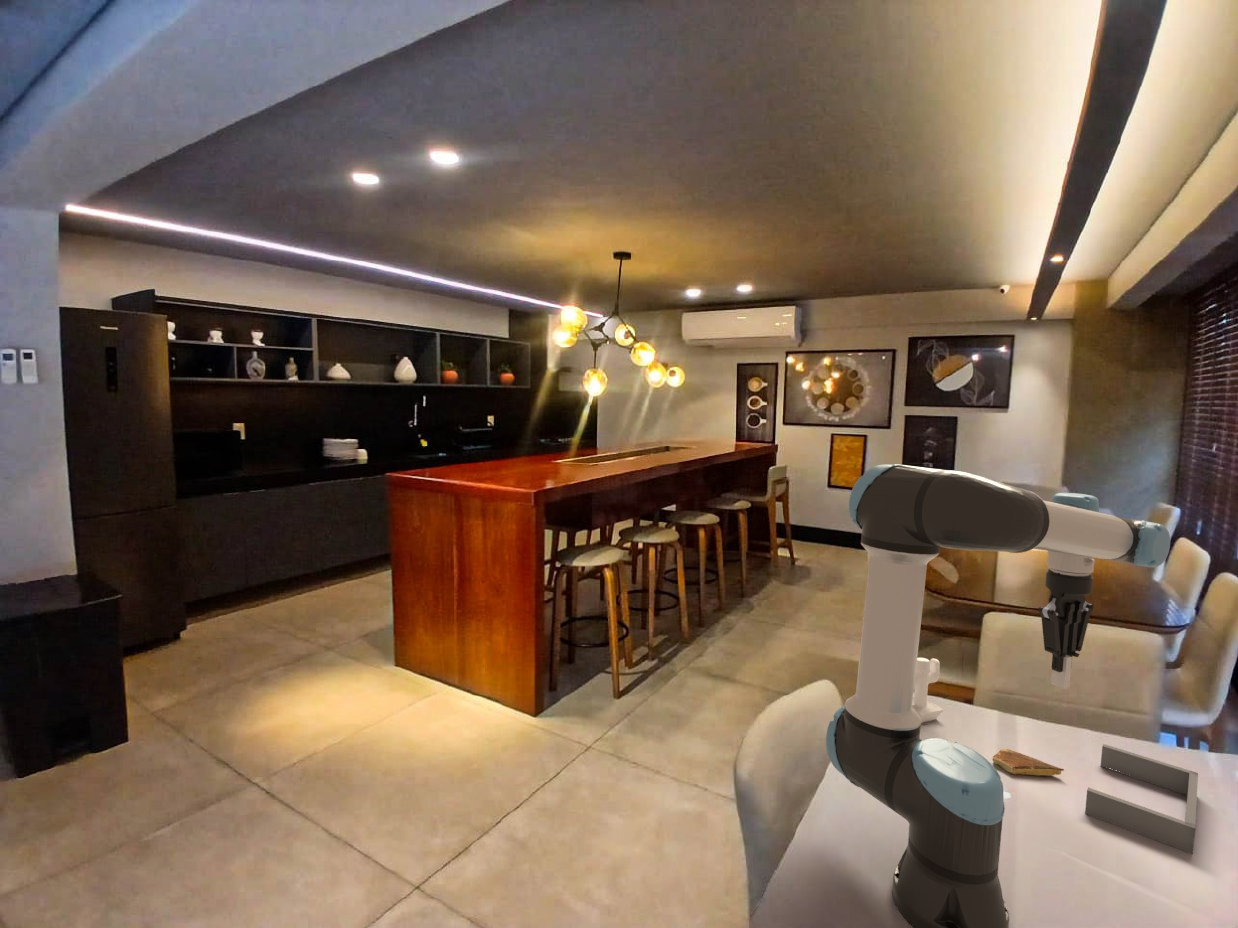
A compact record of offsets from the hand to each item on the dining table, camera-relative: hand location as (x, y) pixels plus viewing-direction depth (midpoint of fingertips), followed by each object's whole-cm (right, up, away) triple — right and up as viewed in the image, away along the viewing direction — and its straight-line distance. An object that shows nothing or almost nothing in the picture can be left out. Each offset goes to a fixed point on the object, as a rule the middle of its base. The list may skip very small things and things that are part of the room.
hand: (1059, 685), depth 124 cm
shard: (-1, -19, +4) cm, 20 cm away
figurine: (-18, -16, +22) cm, 33 cm away
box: (+10, -20, -9) cm, 24 cm away
